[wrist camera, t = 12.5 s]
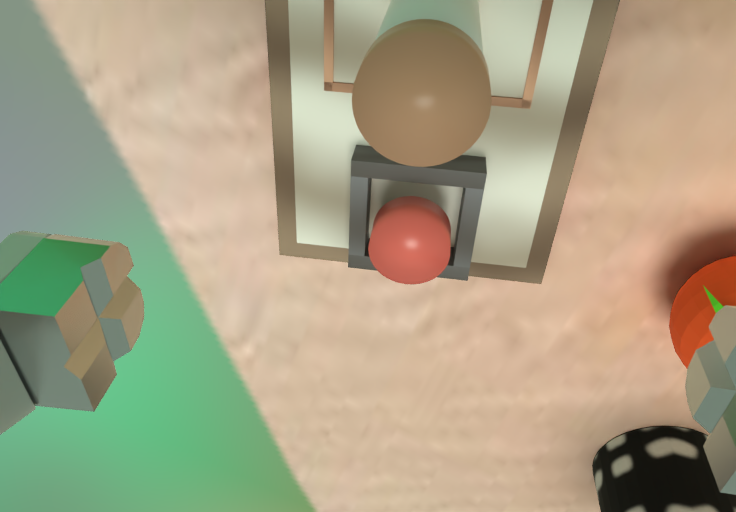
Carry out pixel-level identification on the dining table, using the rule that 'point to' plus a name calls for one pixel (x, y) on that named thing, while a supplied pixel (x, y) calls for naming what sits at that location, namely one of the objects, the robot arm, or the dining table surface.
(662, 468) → the spotted tube
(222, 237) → the dining table surface
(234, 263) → the dining table surface
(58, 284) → the robot arm
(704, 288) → the clementine
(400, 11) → the cylinder
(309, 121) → the board
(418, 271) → the button
